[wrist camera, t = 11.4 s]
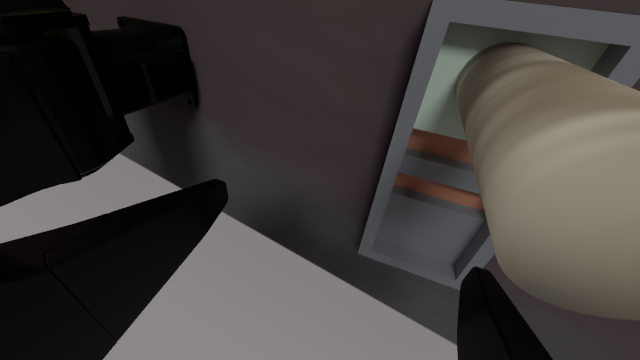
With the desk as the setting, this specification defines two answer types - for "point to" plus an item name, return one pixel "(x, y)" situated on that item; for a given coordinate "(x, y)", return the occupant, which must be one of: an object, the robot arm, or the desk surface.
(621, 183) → the beige tall rounded piece
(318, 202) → the desk surface
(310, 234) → the desk surface
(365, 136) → the desk surface
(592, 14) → the box
